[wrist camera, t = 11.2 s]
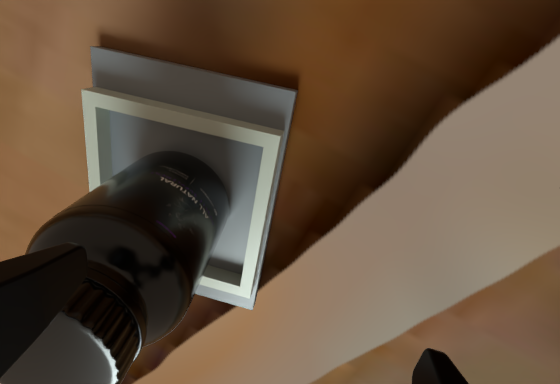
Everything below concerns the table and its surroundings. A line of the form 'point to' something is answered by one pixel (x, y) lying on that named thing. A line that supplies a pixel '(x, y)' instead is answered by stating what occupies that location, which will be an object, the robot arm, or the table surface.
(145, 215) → the supplement bottle
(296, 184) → the table surface
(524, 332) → the table surface
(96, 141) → the coaster tray
